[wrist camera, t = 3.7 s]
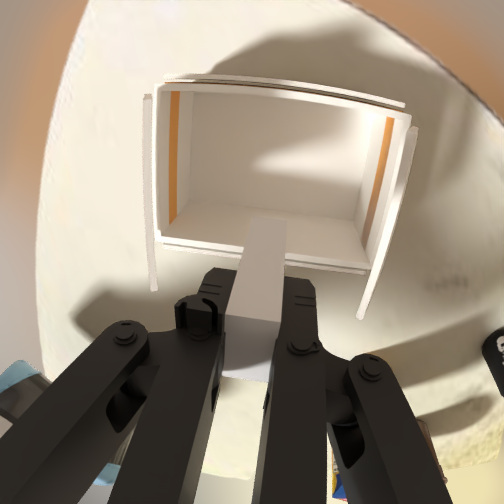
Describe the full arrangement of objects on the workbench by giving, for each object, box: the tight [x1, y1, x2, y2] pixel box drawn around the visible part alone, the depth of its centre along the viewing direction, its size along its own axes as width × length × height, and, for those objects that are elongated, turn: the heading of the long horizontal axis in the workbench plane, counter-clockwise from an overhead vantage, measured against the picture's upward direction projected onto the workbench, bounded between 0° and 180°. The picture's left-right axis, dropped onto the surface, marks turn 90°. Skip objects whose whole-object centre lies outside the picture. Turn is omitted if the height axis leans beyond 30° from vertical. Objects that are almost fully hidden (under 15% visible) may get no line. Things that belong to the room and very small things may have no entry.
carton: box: [153, 74, 412, 275], centre depth 29 cm, size 20×16×10 cm
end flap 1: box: [143, 94, 158, 291], centre depth 21 cm, size 1×12×8 cm, turn 176°
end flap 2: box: [356, 126, 419, 320], centre depth 21 cm, size 1×12×8 cm, turn 174°
